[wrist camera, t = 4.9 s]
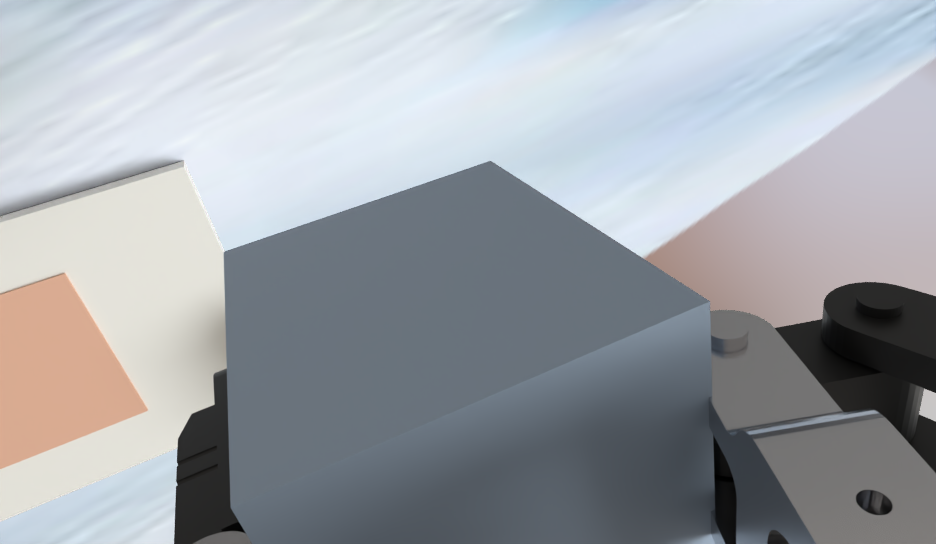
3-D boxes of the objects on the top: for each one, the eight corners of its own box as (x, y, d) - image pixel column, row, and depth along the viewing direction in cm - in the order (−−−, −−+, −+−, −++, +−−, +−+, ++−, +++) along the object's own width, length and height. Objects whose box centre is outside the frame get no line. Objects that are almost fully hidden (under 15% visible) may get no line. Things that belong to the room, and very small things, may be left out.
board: (184, 160, 24) (183, 167, 24) (287, 389, 30) (290, 402, 29) (-379, 331, 20) (-407, 347, 19) (-131, 561, 26) (-144, 583, 25)
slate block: (490, 160, 11) (710, 300, 6) (533, 368, 14) (716, 590, 9) (223, 252, 10) (230, 507, 5) (320, 459, 13) (388, 771, 8)
